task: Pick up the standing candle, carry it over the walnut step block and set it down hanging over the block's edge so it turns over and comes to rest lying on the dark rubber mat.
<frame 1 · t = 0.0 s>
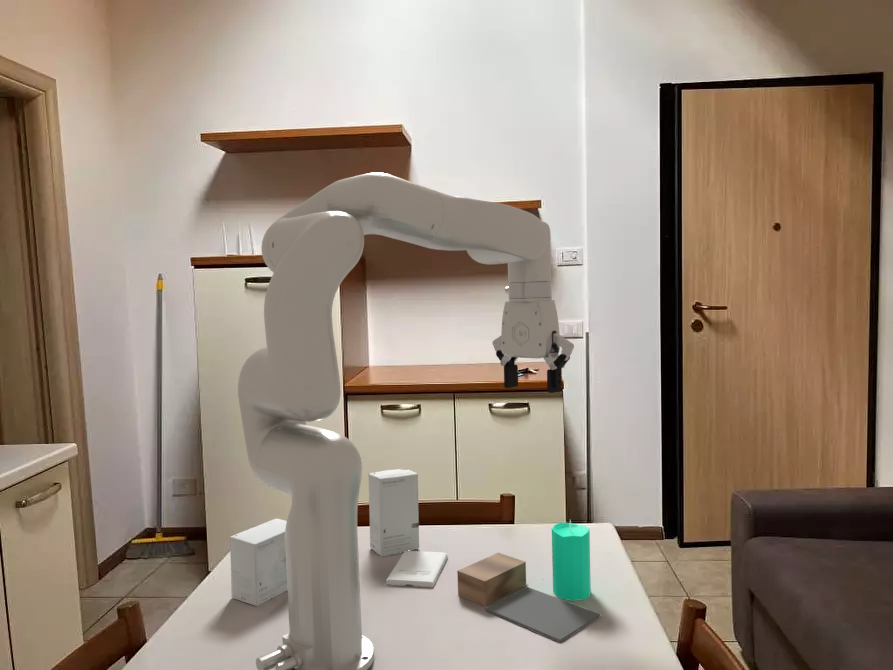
hand: (532, 389, 121), 31 cm above the table, tool pointing down, fingers open, 9 cm apart
skincare box: (395, 549, 132), on the table
external hard drive: (418, 574, 121), on the table
candle: (571, 593, 111), on the table
mat: (542, 613, 104), on the table
skincare box 2: (268, 591, 115), on the table
step block: (492, 589, 112), on the table
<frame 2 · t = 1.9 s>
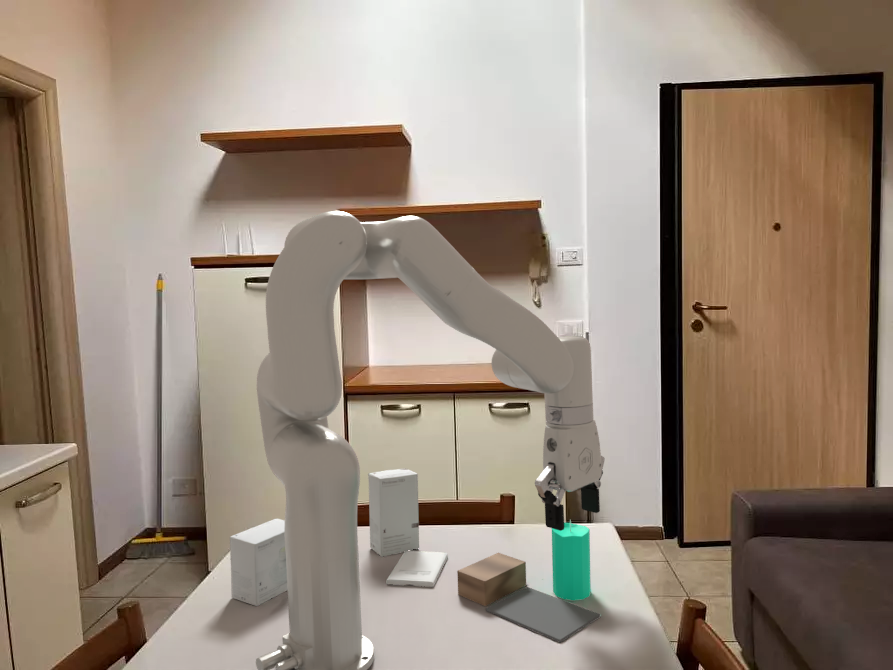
hand: (573, 519, 110), 12 cm above the table, tool pointing down, fingers open, 9 cm apart
nothing on the table moved.
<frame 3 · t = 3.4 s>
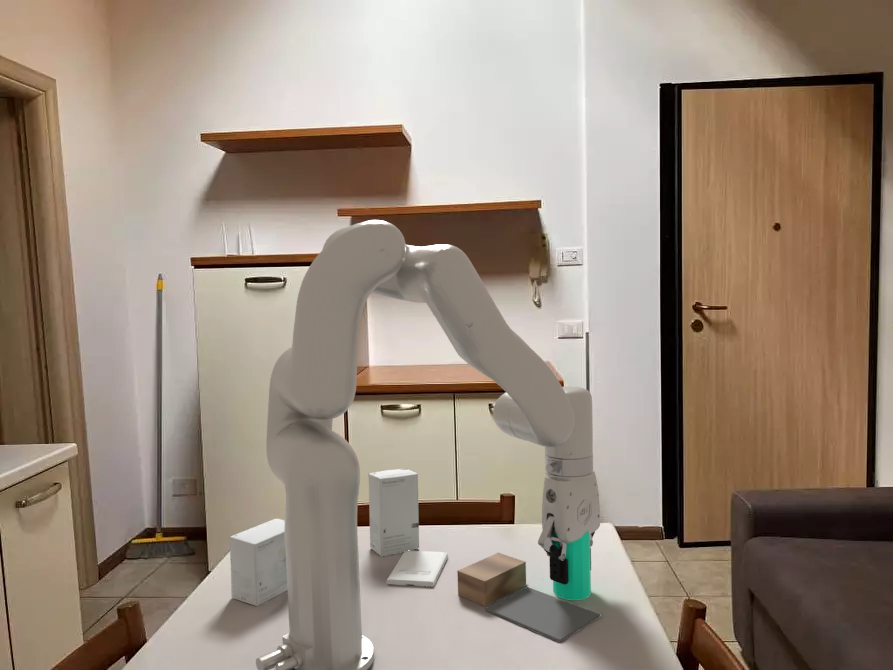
hand: (570, 574, 110), 3 cm above the table, tool pointing down, fingers closed on candle, 5 cm apart
candle: (572, 593, 111), on the table, touching gripper
everything else where it was.
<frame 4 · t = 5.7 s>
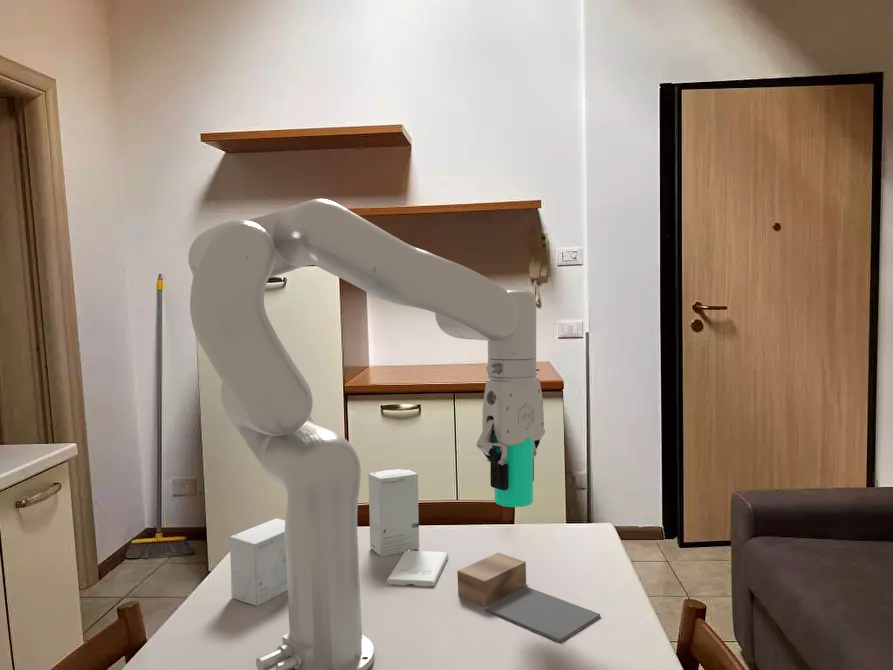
hand: (512, 483, 108), 19 cm above the table, tool pointing down, fingers closed on candle, 5 cm apart
candle: (513, 502, 108), point 16 cm above the table, touching gripper
everything else where it was.
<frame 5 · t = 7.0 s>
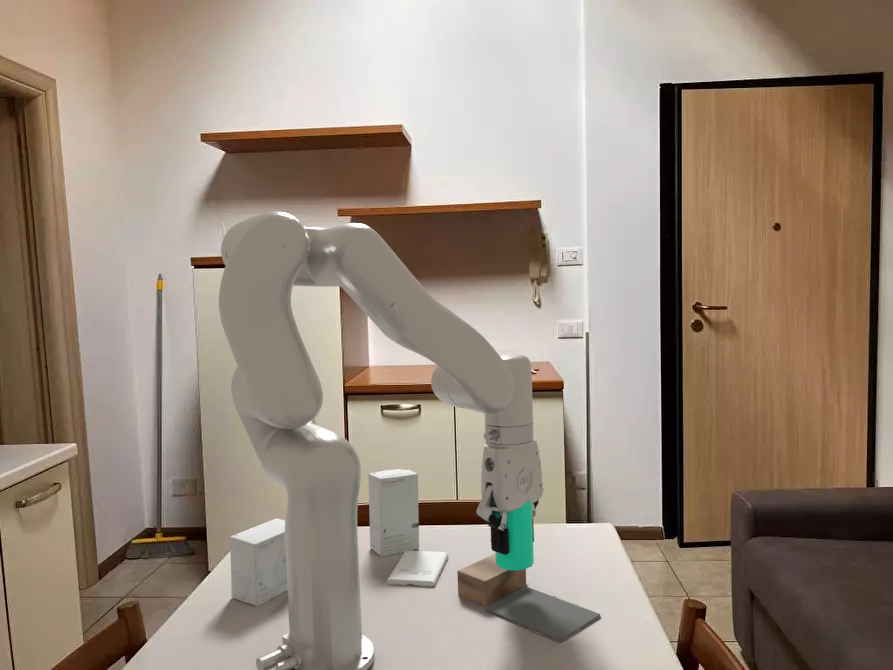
hand: (512, 545, 109), 9 cm above the table, tool pointing down, fingers closed on candle, 5 cm apart
candle: (514, 563, 109), point 6 cm above the table, touching gripper
everything else where it was.
when the fingers open (8 cm above the table, at t = 7.9 s): candle drops 1 cm, resting on mat.
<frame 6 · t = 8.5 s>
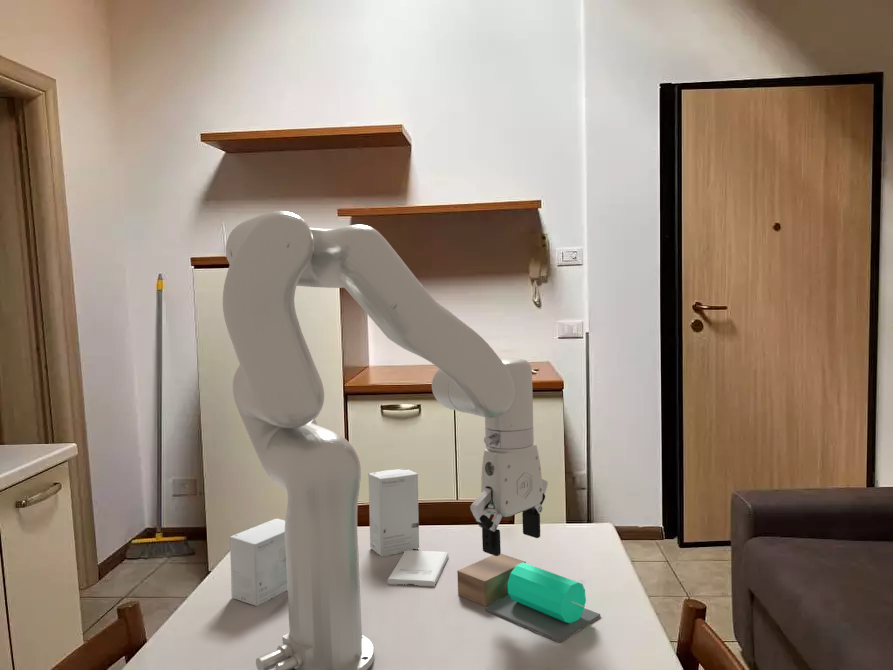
hand: (512, 544, 108), 9 cm above the table, tool pointing down, fingers open, 9 cm apart
candle: (519, 581, 108), point 3 cm above the table, touching mat
everything else where it was.
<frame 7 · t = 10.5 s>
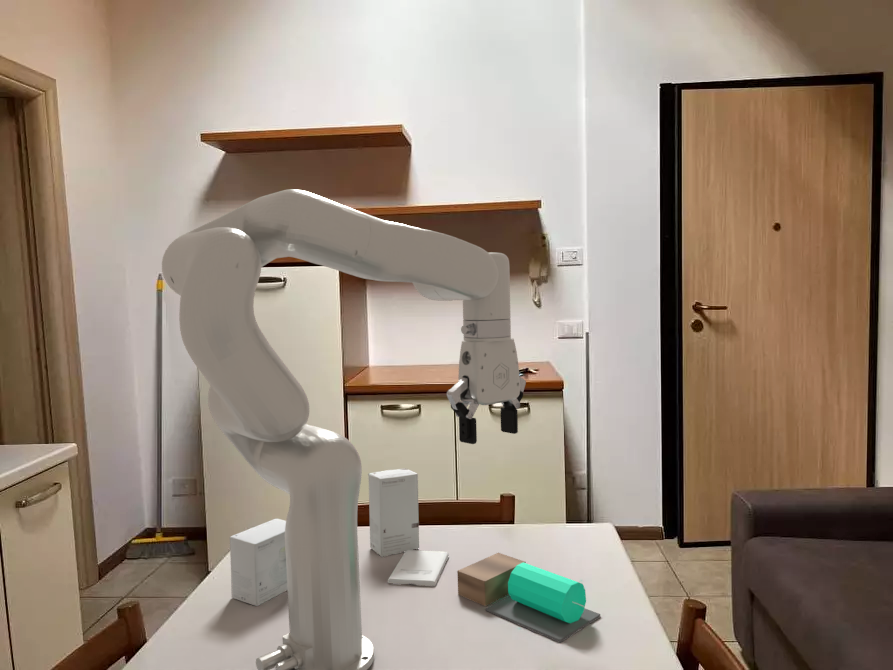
hand: (489, 437, 110), 26 cm above the table, tool pointing down, fingers open, 9 cm apart
nothing on the table moved.
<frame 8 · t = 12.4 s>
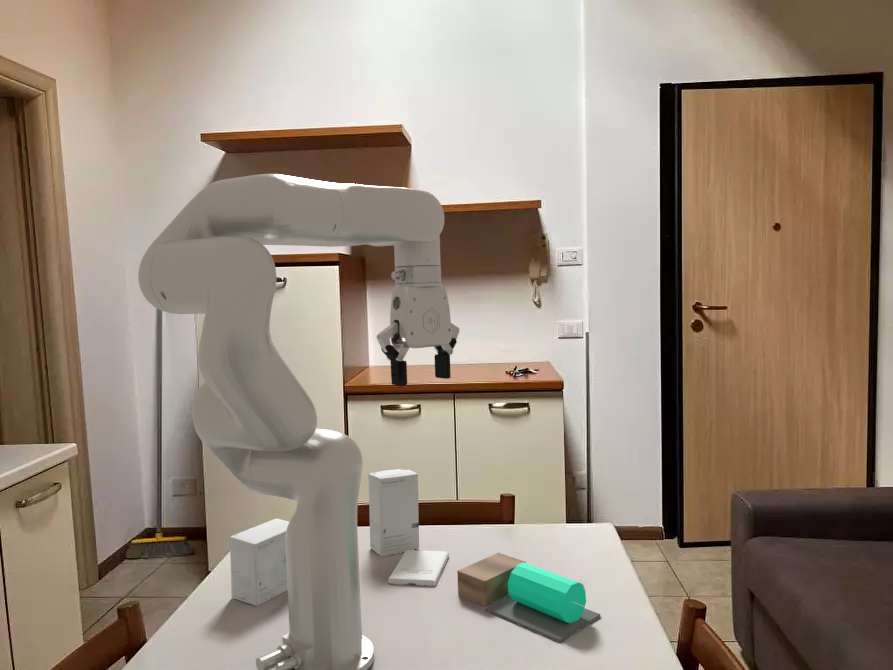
hand: (421, 381, 114), 34 cm above the table, tool pointing down, fingers open, 9 cm apart
nothing on the table moved.
at the end: candle tilted 90°; candle inside the target area (7.0 cm from its centre), point 3.3 cm above the table; the gripper is holding nothing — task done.
